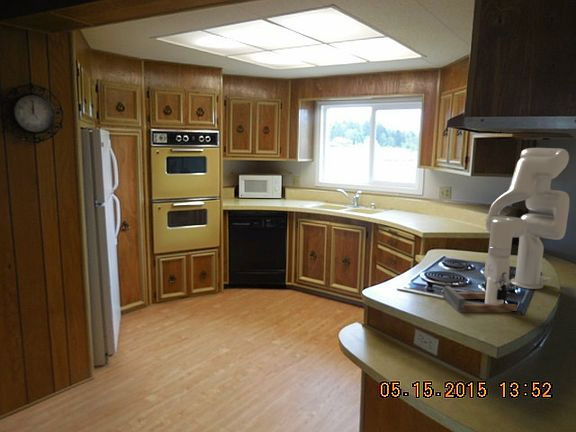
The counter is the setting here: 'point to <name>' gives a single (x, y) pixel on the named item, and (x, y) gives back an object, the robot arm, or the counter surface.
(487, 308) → the guide track
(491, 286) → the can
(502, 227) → the robot arm
